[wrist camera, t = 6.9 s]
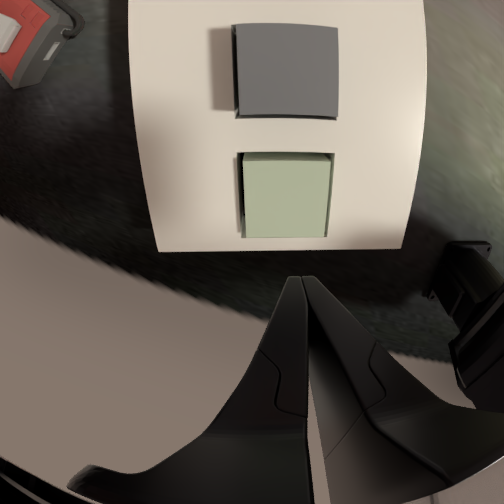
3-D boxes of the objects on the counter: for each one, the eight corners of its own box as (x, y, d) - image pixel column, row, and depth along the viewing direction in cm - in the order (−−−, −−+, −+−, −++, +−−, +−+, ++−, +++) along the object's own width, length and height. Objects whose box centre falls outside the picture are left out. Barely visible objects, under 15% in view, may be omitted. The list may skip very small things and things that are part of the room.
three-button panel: (393, -40, 8) (412, -53, 5) (384, 227, 19) (400, 248, 17) (149, -46, 8) (132, -61, 6) (170, 229, 20) (158, 252, 17)
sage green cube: (317, 147, 16) (330, 161, 14) (313, 211, 19) (323, 237, 16) (245, 147, 17) (242, 161, 14) (248, 211, 19) (246, 237, 16)
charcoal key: (321, 39, 12) (337, 27, 9) (321, 110, 14) (338, 116, 11) (240, 36, 12) (236, 23, 9) (243, 109, 14) (239, 115, 11)
